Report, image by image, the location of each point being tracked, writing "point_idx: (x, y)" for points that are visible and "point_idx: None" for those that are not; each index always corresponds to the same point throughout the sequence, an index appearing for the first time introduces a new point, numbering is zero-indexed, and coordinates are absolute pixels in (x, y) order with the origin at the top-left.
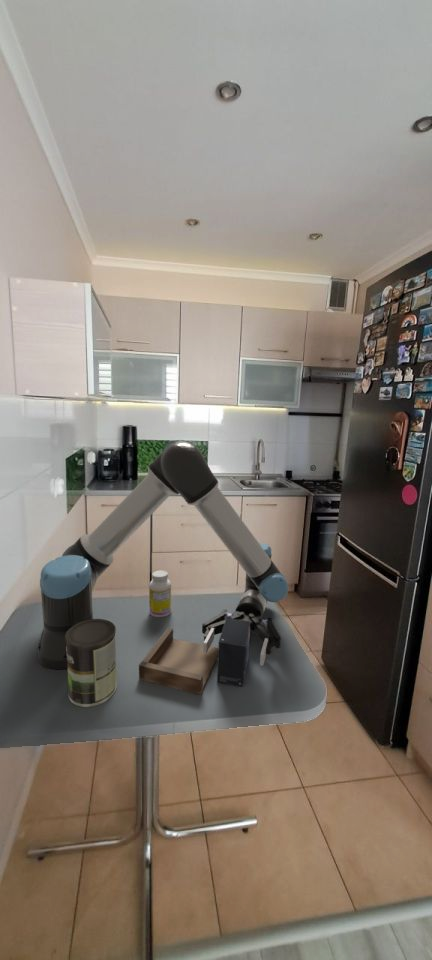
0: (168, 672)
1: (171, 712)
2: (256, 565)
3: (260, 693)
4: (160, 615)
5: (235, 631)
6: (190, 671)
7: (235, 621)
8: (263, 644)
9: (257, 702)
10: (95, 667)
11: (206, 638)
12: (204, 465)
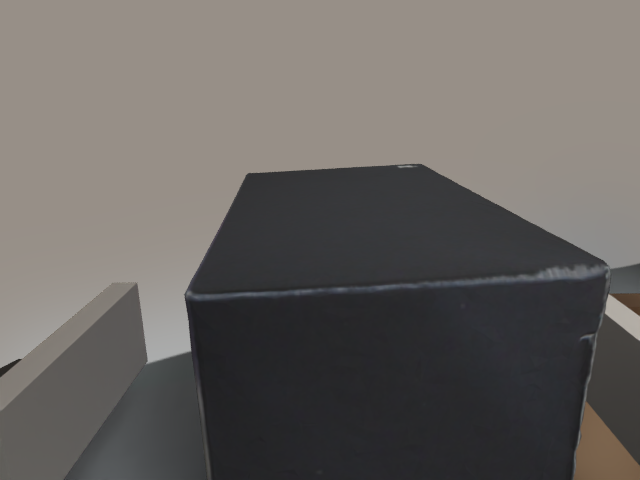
0: (620, 295)
1: None
2: None
3: (168, 421)
4: None
5: (347, 190)
6: (601, 424)
7: (416, 238)
8: (70, 342)
9: (191, 383)
10: None
11: (616, 303)
12: None
